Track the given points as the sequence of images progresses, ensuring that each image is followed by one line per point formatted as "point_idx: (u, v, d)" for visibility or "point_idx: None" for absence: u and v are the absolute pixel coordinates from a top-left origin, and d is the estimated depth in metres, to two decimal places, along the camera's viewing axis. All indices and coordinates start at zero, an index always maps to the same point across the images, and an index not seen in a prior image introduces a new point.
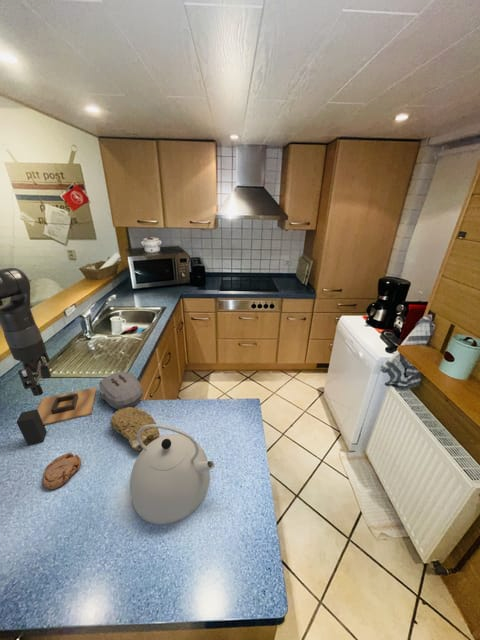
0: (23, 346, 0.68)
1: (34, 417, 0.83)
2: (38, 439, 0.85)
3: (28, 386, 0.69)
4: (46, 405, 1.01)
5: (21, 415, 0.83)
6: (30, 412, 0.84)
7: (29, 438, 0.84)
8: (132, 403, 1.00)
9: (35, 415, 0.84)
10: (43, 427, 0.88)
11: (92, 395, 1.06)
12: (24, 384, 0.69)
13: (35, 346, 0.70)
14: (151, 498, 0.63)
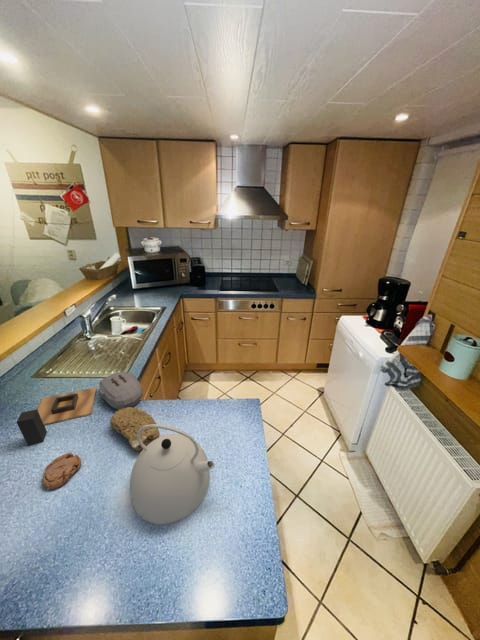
0: None
1: (34, 417, 0.83)
2: (38, 439, 0.85)
3: None
4: (46, 405, 1.01)
5: (21, 415, 0.83)
6: (30, 412, 0.84)
7: (29, 438, 0.84)
8: (132, 403, 1.00)
9: (35, 415, 0.84)
10: (43, 427, 0.88)
11: (92, 395, 1.06)
12: None
13: None
14: (151, 498, 0.63)
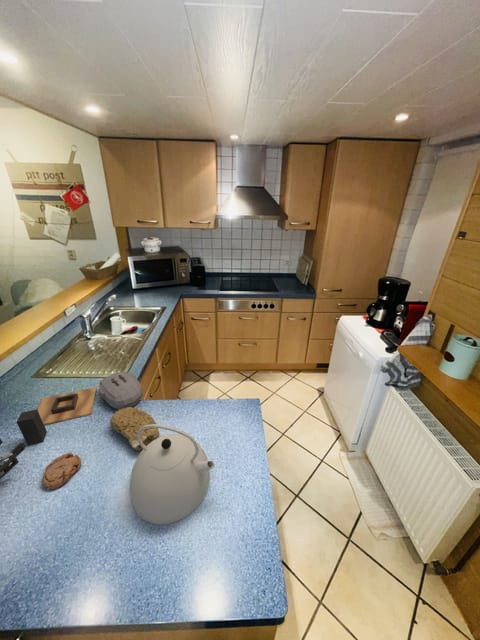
0: None
1: (34, 417, 0.83)
2: (38, 439, 0.85)
3: None
4: (46, 405, 1.01)
5: (21, 415, 0.83)
6: (30, 412, 0.84)
7: (29, 438, 0.84)
8: (132, 403, 1.00)
9: (35, 415, 0.84)
10: (43, 427, 0.88)
11: (92, 395, 1.06)
12: None
13: None
14: (151, 498, 0.63)
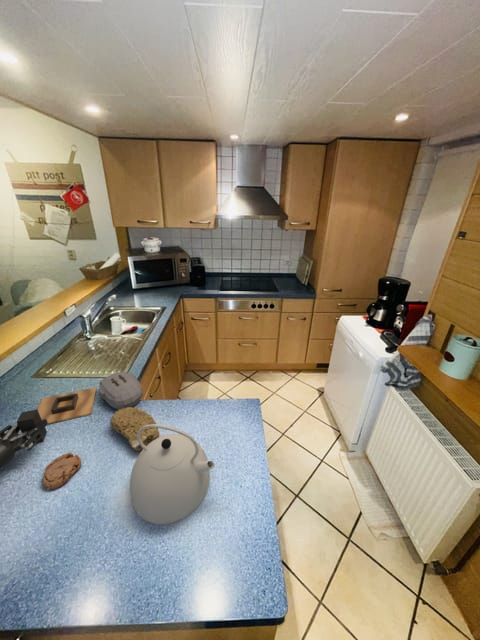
0: None
1: (34, 417, 0.83)
2: None
3: None
4: (46, 405, 1.01)
5: (21, 415, 0.83)
6: (30, 412, 0.84)
7: None
8: (132, 403, 1.00)
9: (35, 415, 0.84)
10: None
11: (92, 395, 1.06)
12: None
13: None
14: (151, 498, 0.63)
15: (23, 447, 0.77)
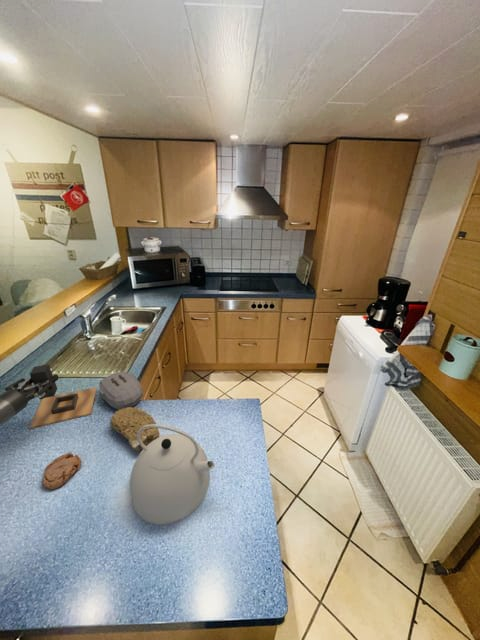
0: None
1: (46, 371, 0.87)
2: (49, 393, 0.90)
3: None
4: (46, 405, 1.01)
5: (34, 368, 0.87)
6: (42, 366, 0.89)
7: None
8: (132, 403, 1.00)
9: (47, 369, 0.88)
10: (54, 383, 0.92)
11: (92, 395, 1.06)
12: None
13: None
14: (151, 498, 0.63)
15: (36, 396, 0.81)
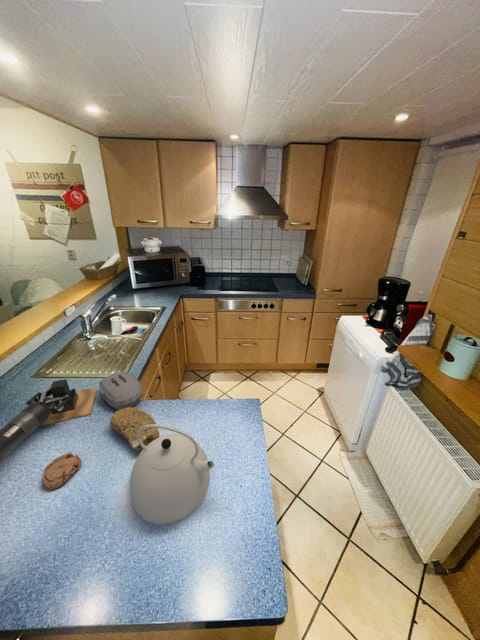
0: None
1: (64, 385, 0.96)
2: None
3: None
4: None
5: (53, 383, 0.96)
6: (60, 381, 0.98)
7: None
8: (132, 403, 1.00)
9: (65, 384, 0.97)
10: None
11: (92, 395, 1.06)
12: None
13: None
14: (151, 498, 0.63)
15: (55, 409, 0.90)
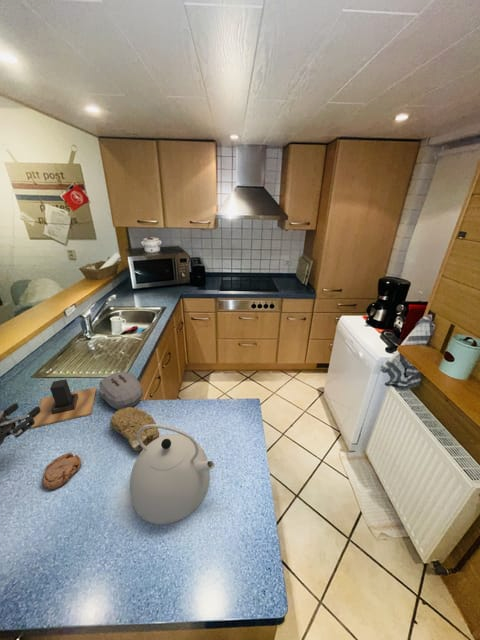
0: None
1: (64, 385, 0.96)
2: None
3: None
4: (46, 405, 1.01)
5: (53, 383, 0.96)
6: (60, 381, 0.98)
7: (60, 403, 0.98)
8: (132, 403, 1.00)
9: (65, 384, 0.97)
10: (71, 395, 1.02)
11: (92, 395, 1.06)
12: None
13: None
14: (151, 498, 0.63)
15: (12, 433, 0.75)
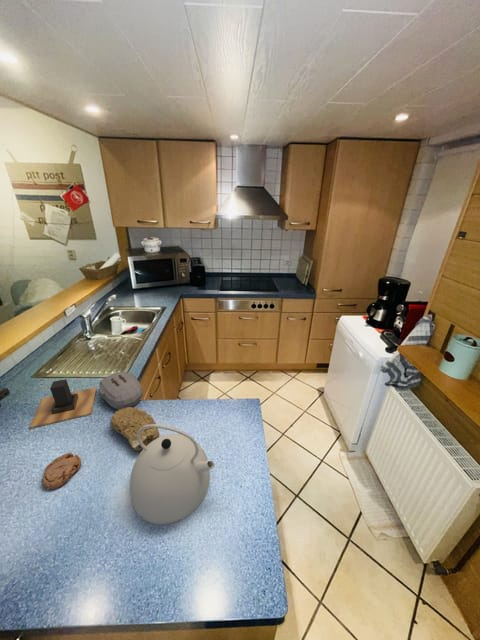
0: None
1: (64, 385, 0.96)
2: None
3: None
4: (46, 405, 1.01)
5: (53, 383, 0.96)
6: (60, 381, 0.98)
7: (60, 403, 0.98)
8: (132, 403, 1.00)
9: (65, 384, 0.97)
10: (71, 395, 1.02)
11: (92, 395, 1.06)
12: None
13: None
14: (151, 498, 0.63)
15: None
